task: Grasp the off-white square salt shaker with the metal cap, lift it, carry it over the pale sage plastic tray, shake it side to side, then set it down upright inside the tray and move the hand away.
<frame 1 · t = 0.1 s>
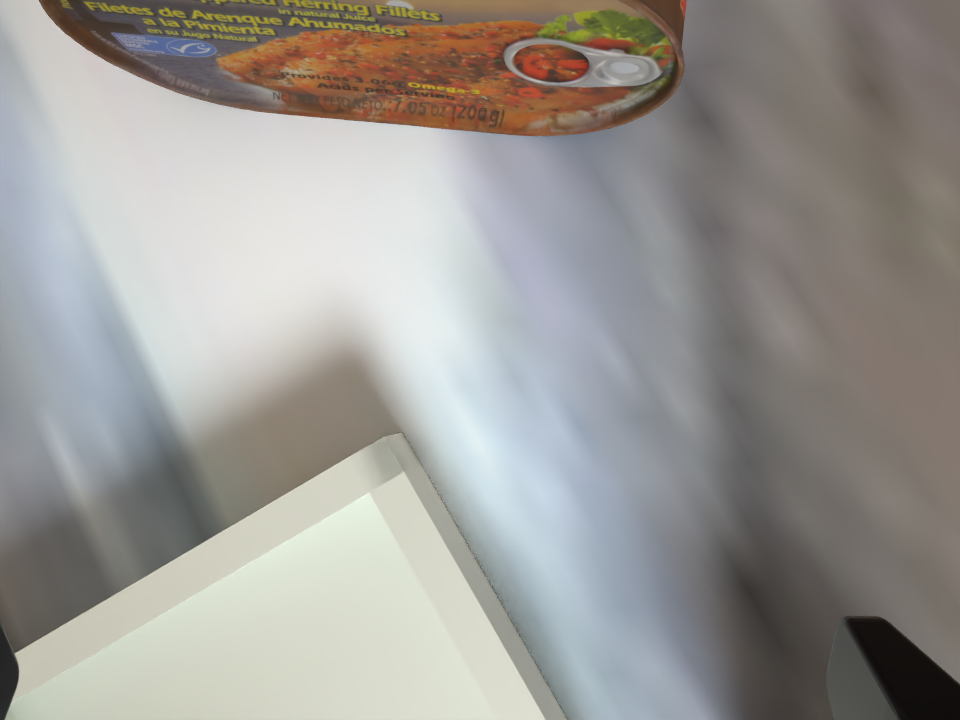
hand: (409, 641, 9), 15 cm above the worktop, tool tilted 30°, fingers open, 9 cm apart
tin: (398, 74, 25), on the worktop
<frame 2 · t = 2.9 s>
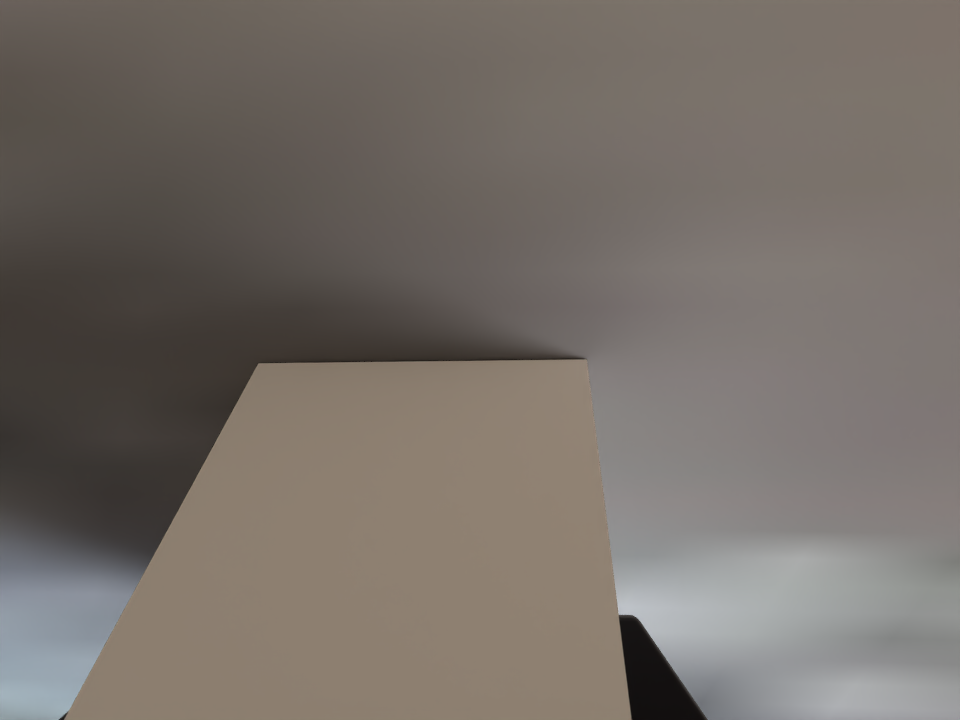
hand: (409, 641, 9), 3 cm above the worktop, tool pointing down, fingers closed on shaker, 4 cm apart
shaker: (431, 493, 12), on the worktop, touching gripper
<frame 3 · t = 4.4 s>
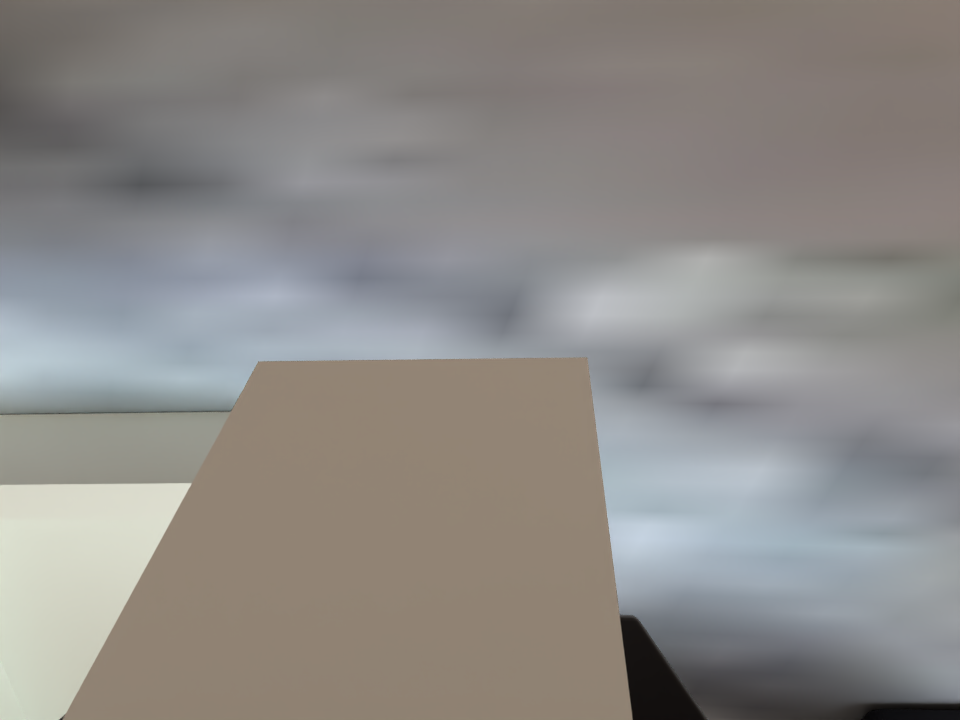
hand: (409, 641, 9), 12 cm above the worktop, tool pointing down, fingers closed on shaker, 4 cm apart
shaker: (431, 491, 12), point 9 cm above the worktop, touching gripper
tray: (165, 612, 26), on the worktop
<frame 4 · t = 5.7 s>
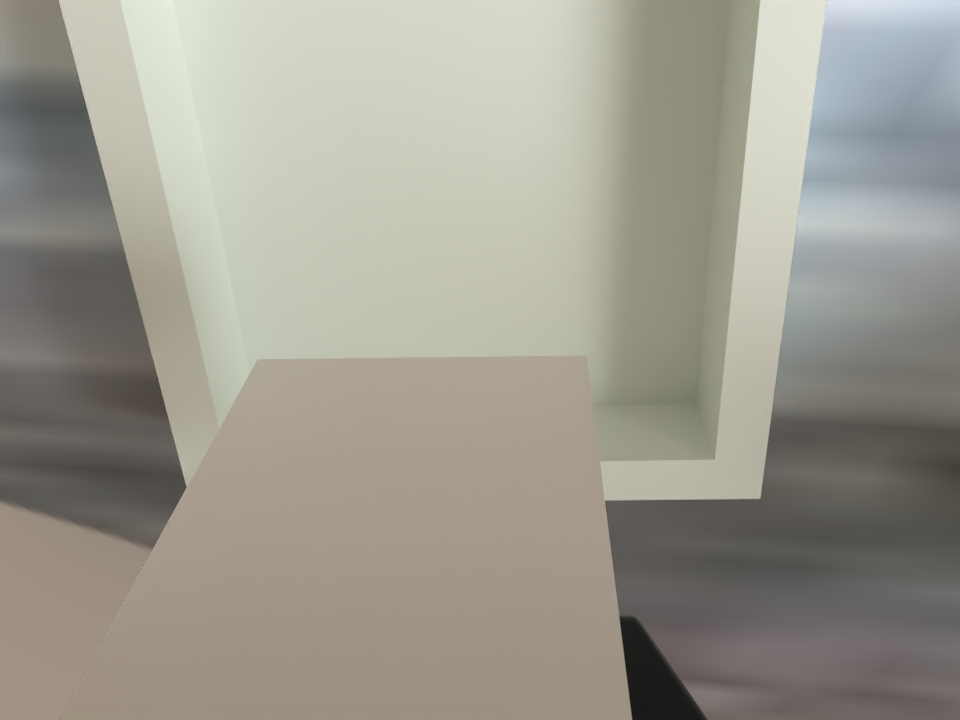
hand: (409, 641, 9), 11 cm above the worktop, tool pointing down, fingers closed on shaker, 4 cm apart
shaker: (431, 490, 12), point 8 cm above the worktop, touching gripper
tray: (459, 132, 18), on the worktop
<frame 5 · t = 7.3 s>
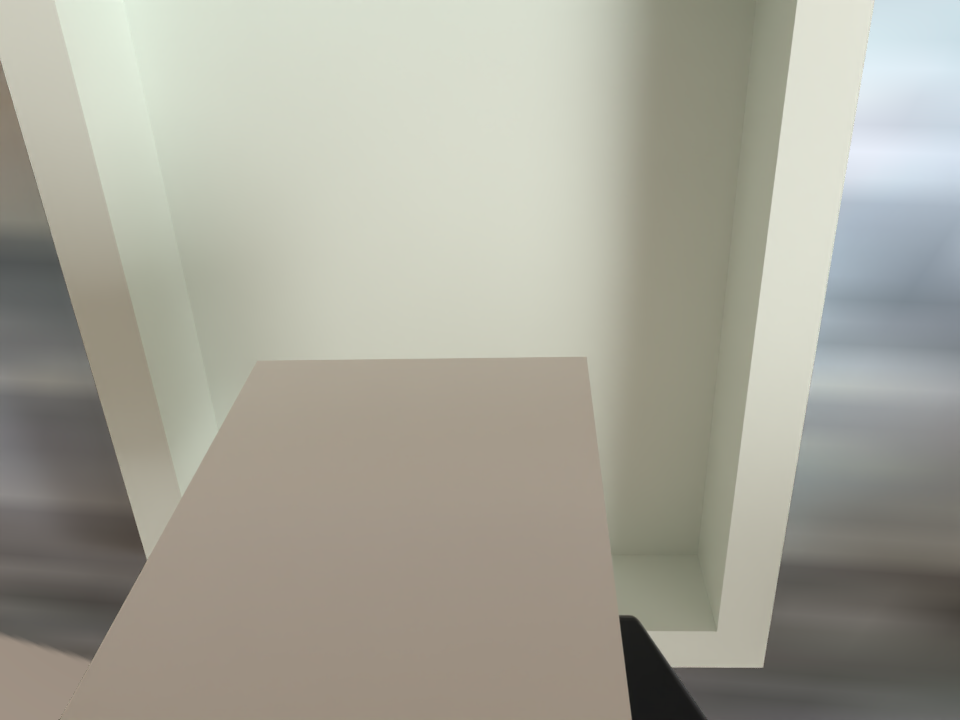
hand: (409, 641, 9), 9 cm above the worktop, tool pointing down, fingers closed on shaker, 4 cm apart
shaker: (431, 491, 12), point 6 cm above the worktop, touching gripper
tray: (456, 292, 17), on the worktop
when the fingers open (5 cm above the worktop, at t = 8.7 s): shaker drops 1 cm, resting on tray.
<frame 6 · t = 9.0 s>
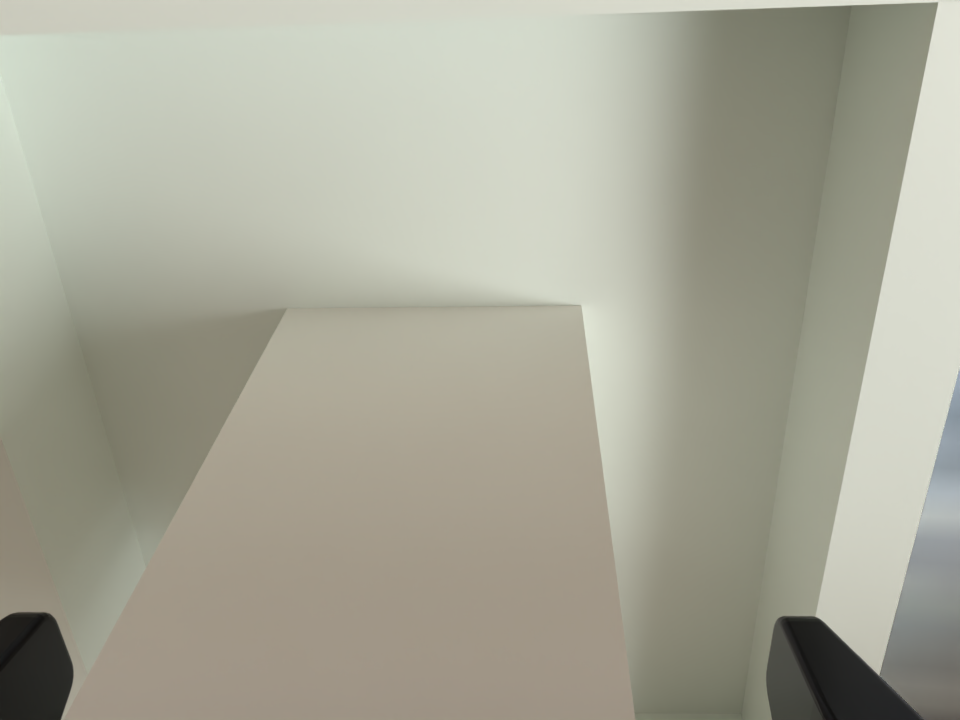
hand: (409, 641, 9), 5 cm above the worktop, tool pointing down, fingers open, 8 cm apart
shaker: (440, 430, 13), point 1 cm above the worktop, touching tray
tray: (443, 404, 14), on the worktop
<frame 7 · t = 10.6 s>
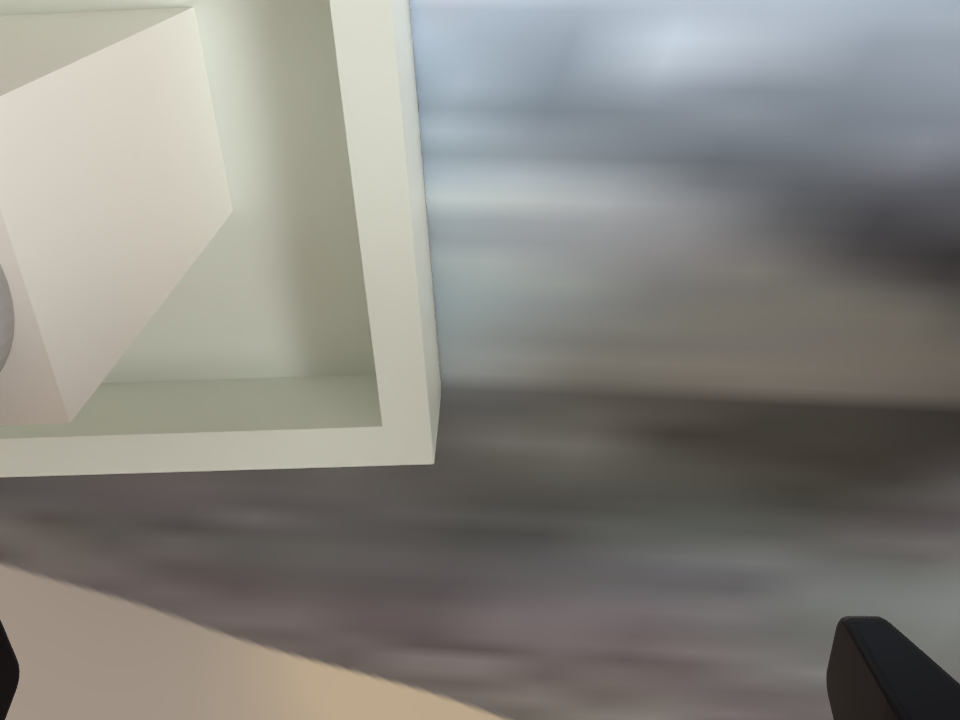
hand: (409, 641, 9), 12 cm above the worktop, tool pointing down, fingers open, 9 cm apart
shaker: (115, 118, 17), point 1 cm above the worktop, touching tray
tray: (128, 111, 18), on the worktop
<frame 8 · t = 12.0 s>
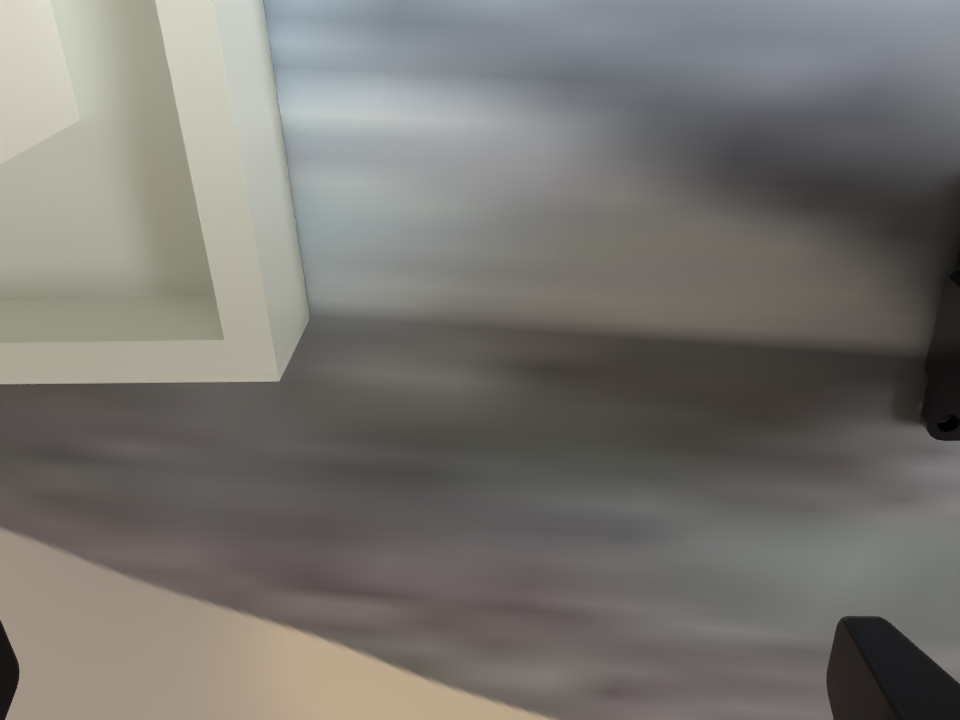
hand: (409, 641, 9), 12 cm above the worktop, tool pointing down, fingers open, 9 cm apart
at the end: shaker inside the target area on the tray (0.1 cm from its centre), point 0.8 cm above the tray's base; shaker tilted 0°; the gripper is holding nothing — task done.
